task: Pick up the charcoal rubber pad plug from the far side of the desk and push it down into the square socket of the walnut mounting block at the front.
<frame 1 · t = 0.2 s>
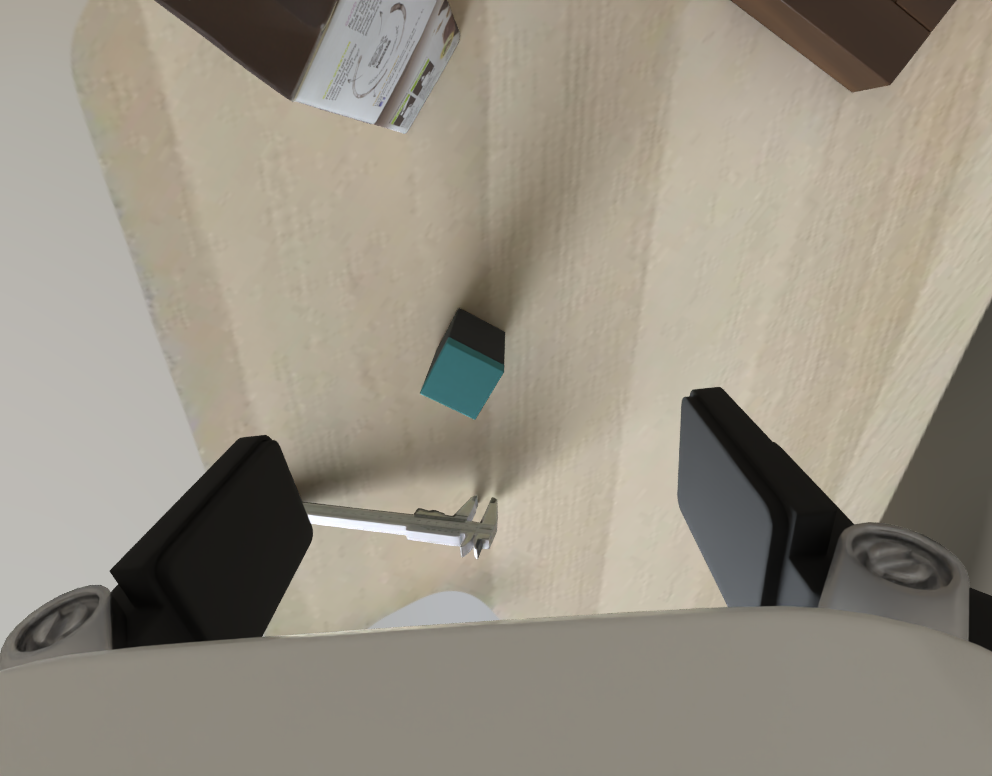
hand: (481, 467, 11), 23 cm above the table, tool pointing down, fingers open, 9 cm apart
caliper: (383, 500, 41), on the table
coffee box: (367, 30, 26), on the table
pad plug: (470, 341, 34), on the table
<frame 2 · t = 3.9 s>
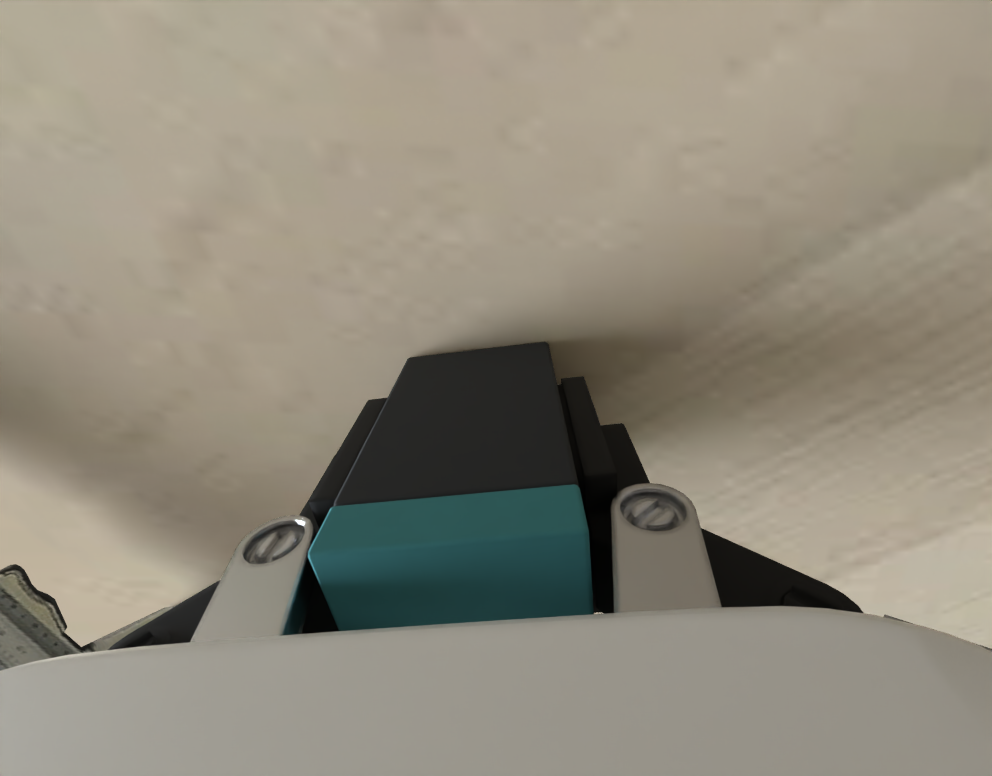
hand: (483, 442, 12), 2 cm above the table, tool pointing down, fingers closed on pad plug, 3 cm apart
pad plug: (486, 410, 13), on the table, touching gripper
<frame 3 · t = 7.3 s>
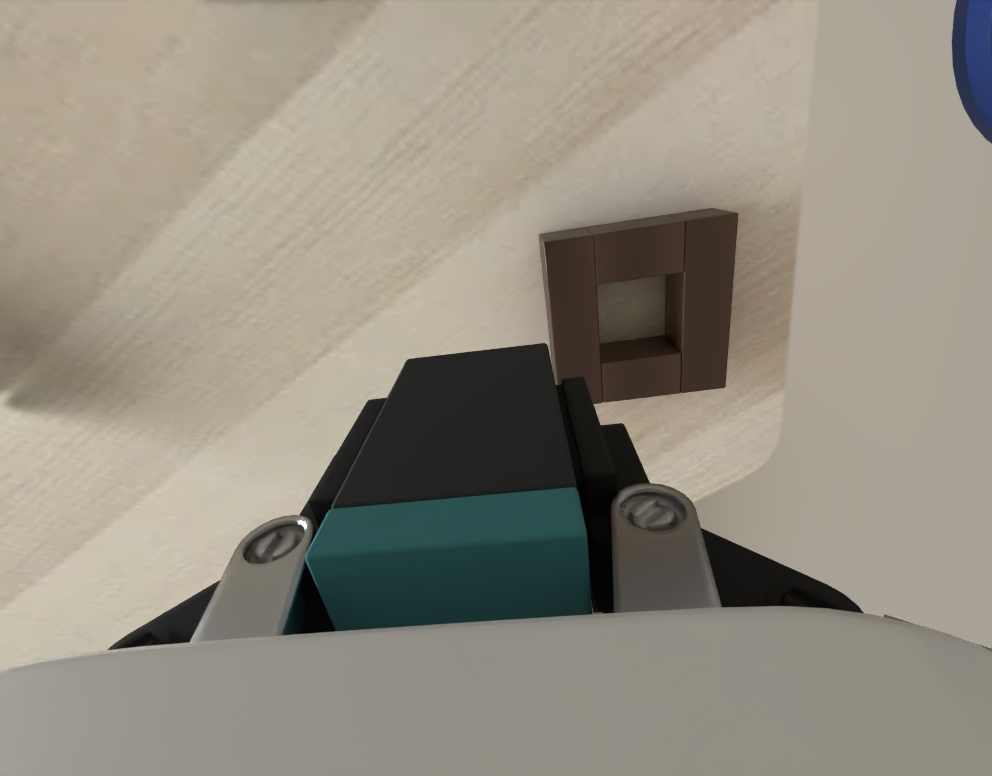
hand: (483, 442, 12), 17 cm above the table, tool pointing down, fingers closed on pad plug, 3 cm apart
mount block: (626, 304, 27), on the table
pad plug: (485, 411, 13), point 15 cm above the table, touching gripper
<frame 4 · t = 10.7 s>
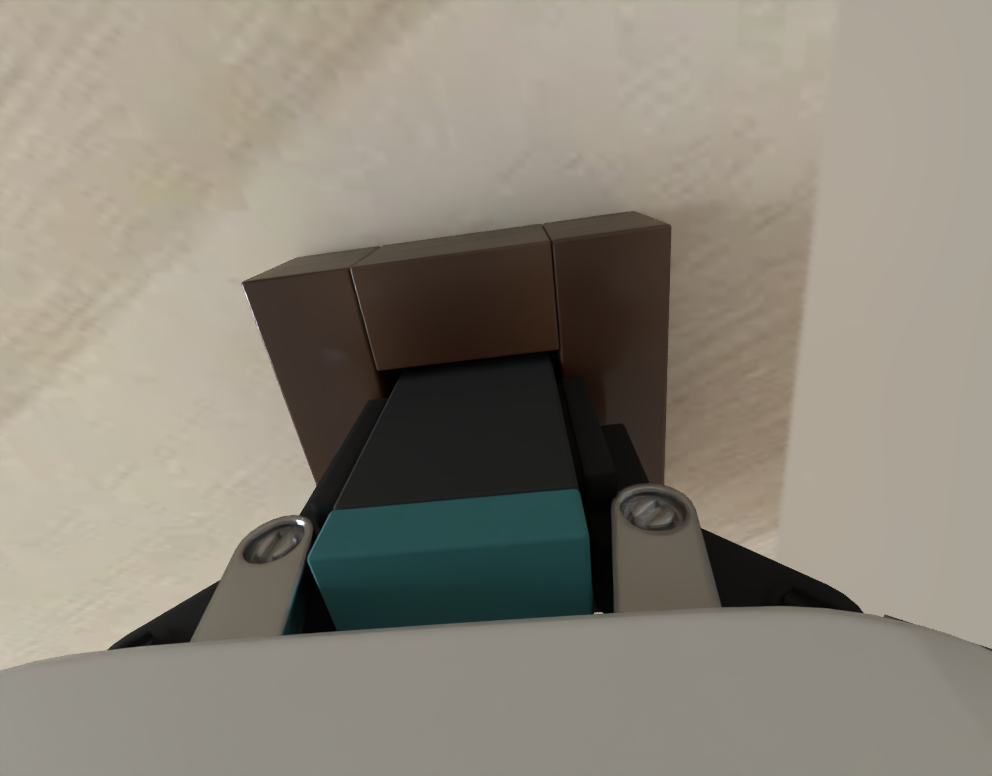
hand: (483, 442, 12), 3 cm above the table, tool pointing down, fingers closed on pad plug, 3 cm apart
mount block: (485, 388, 15), on the table
pad plug: (486, 412, 13), point 2 cm above the table, touching gripper
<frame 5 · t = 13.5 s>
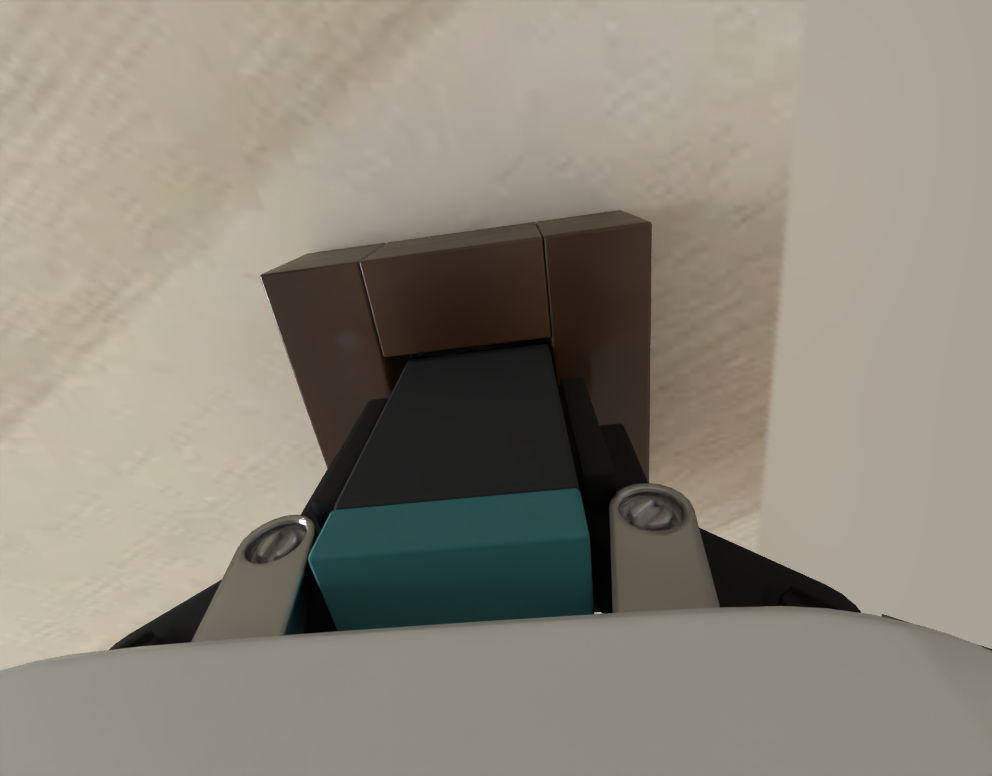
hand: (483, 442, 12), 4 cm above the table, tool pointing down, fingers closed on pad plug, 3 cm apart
mount block: (483, 377, 16), on the table
pad plug: (487, 412, 13), point 3 cm above the table, touching gripper
when the fingers open (4 cm above the table, at t = 15.9 s): pad plug drops 3 cm, resting in mount block.
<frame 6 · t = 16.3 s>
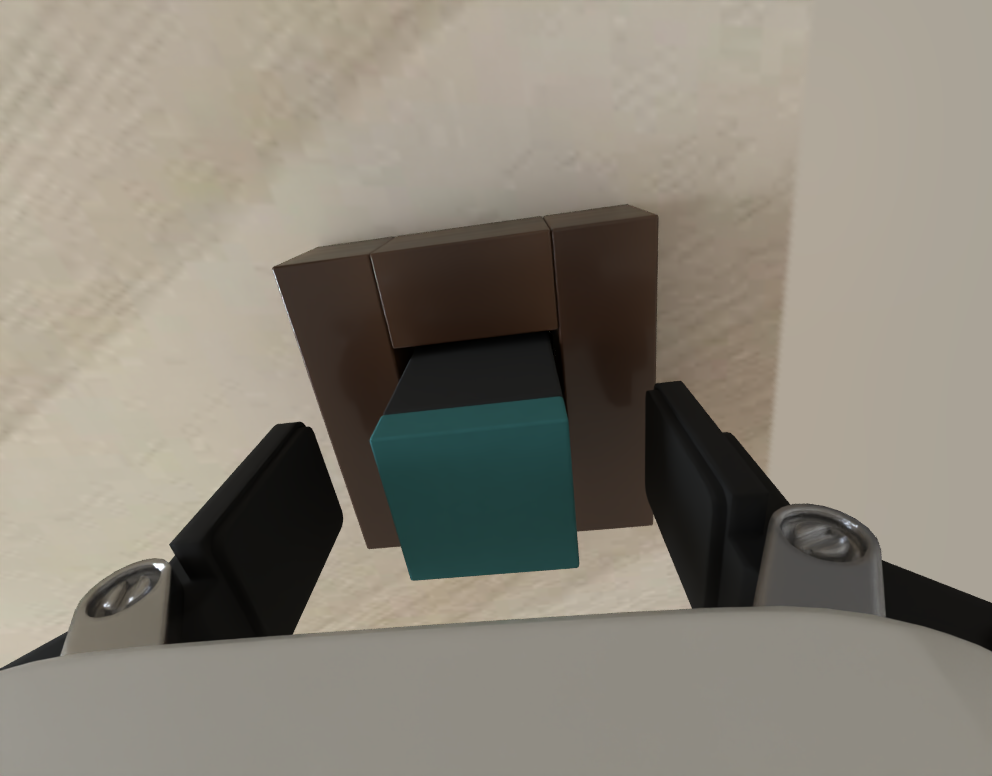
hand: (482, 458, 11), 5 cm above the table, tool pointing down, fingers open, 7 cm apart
mount block: (490, 370, 16), on the table
pad plug: (492, 370, 16), resting in mount block
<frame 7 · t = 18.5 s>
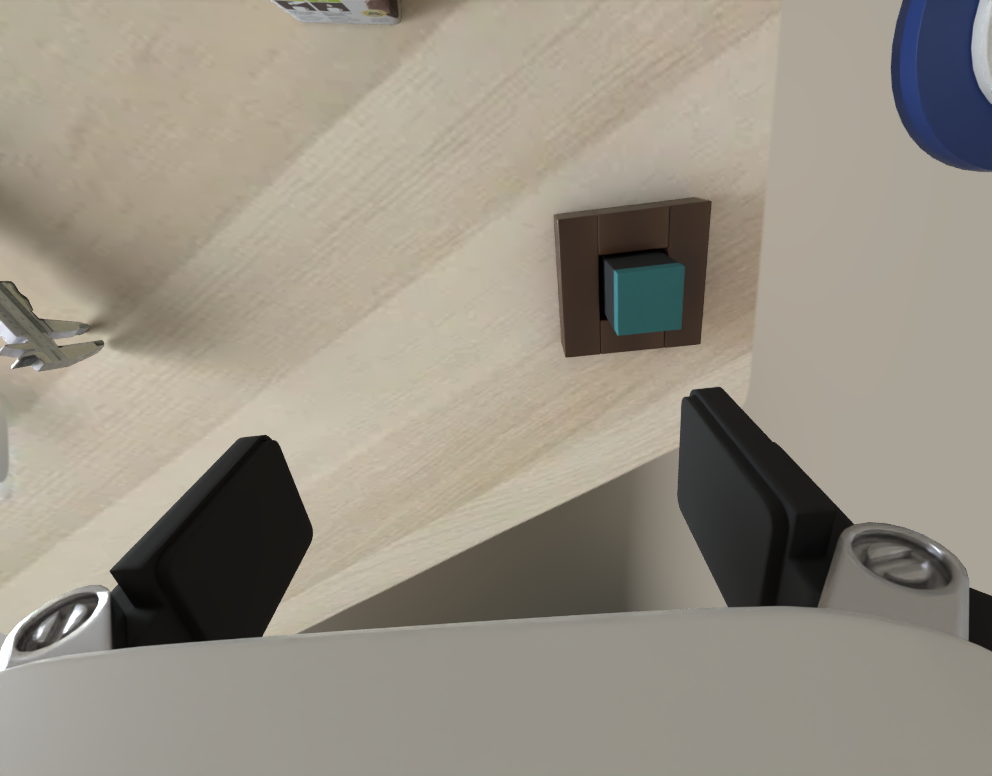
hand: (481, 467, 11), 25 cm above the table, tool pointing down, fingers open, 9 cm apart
mount block: (623, 275, 33), on the table
pad plug: (624, 275, 33), resting in mount block
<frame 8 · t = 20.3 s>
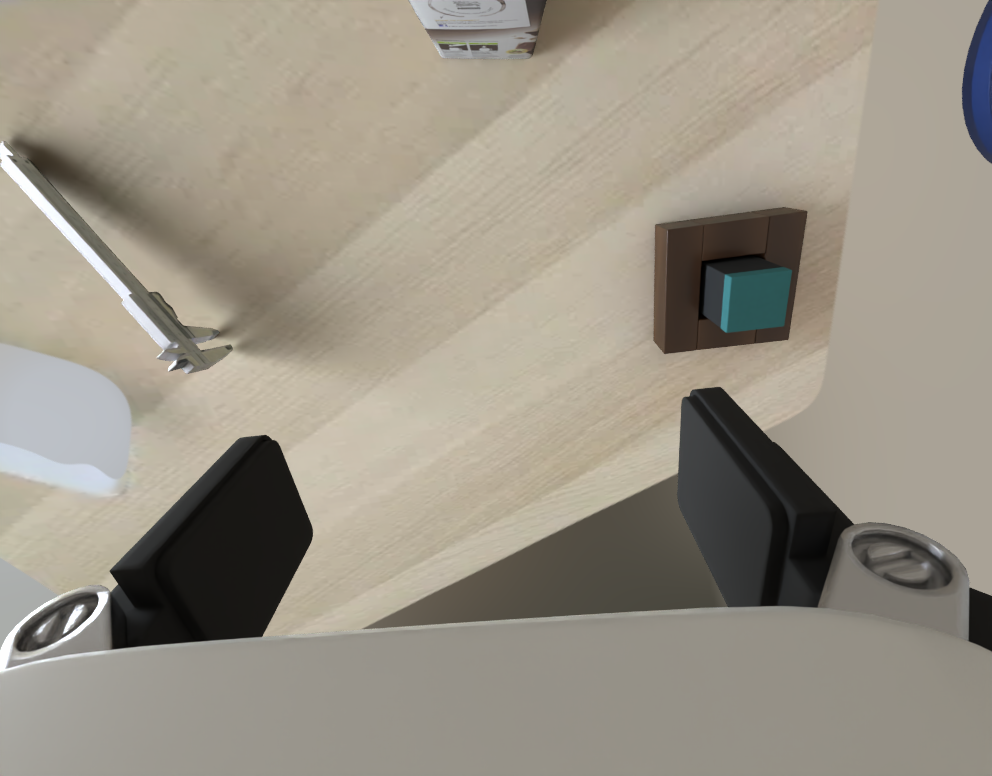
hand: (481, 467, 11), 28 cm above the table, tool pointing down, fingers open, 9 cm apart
caliper: (131, 257, 37), on the table
mount block: (714, 278, 37), on the table
pad plug: (715, 278, 37), resting in mount block
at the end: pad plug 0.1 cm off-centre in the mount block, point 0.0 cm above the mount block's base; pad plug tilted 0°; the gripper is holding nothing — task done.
